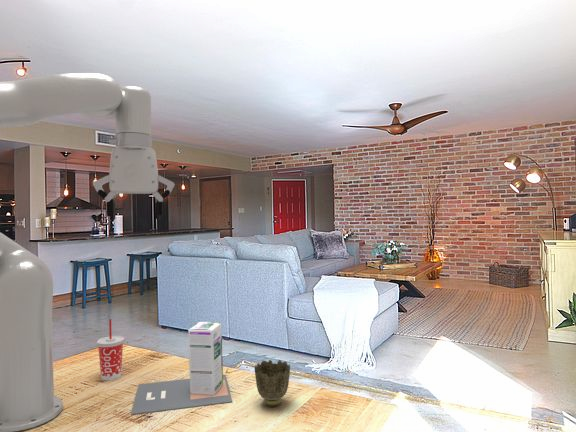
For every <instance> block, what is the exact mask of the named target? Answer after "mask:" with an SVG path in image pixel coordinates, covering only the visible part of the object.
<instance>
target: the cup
mask: <svg viewBox="0 0 576 432" xmlns="http://www.w3.org/2000/svg"><path fill="white" fill-rule="evenodd" d="M253 369H254V375H255V383H256V384H255V385H256V388H257V392H258V394H259V396H261V397H262V398H263V403H264V405H265V406H266V407H269V408H275V407H279V406H280V405H281V403H282V398H283V397H284V396H285V395H286V394H287V392H288V389H289V383H290V374H291V364H288V362H287V361H282V360H281V359H279V360H278V361H277V362H276V363H275V362H274V363H273V360H271V359H269V360H268V361H267V360H262V361H261V363H258V362H257V364H256V365H254V366H253Z"/></svg>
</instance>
